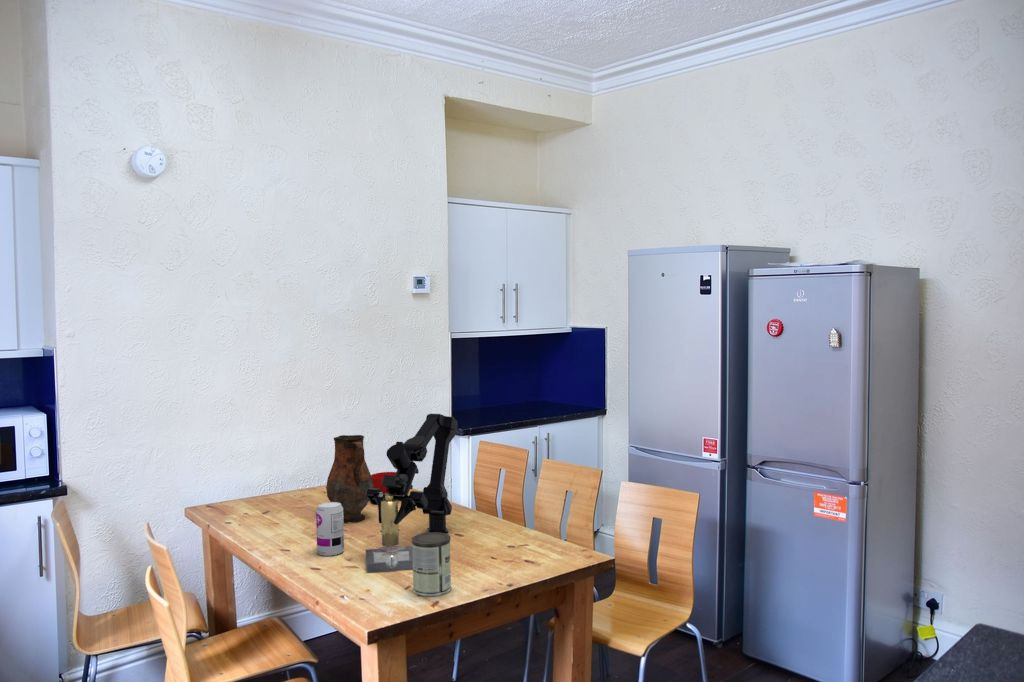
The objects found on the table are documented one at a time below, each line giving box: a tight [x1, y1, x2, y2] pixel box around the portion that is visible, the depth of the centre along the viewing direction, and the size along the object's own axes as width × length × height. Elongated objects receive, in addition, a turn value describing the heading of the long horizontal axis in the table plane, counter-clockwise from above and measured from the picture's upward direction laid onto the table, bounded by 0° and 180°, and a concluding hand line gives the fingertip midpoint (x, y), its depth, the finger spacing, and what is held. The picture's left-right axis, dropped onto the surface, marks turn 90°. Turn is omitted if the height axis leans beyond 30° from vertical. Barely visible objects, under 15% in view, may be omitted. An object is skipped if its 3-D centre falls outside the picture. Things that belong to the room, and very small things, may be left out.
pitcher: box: [325, 434, 373, 523], centre depth 279 cm, size 17×21×30 cm
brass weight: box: [380, 494, 400, 547], centre depth 232 cm, size 5×5×15 cm
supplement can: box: [315, 501, 345, 557], centre depth 242 cm, size 8×8×15 cm
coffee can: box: [411, 532, 452, 597], centre depth 208 cm, size 10×10×14 cm
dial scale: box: [365, 545, 413, 573], centre depth 231 cm, size 14×14×4 cm
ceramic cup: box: [371, 471, 396, 494], centre depth 308 cm, size 13×17×10 cm
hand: (387, 523), depth 230 cm, fingers closed on brass weight, 5 cm apart
